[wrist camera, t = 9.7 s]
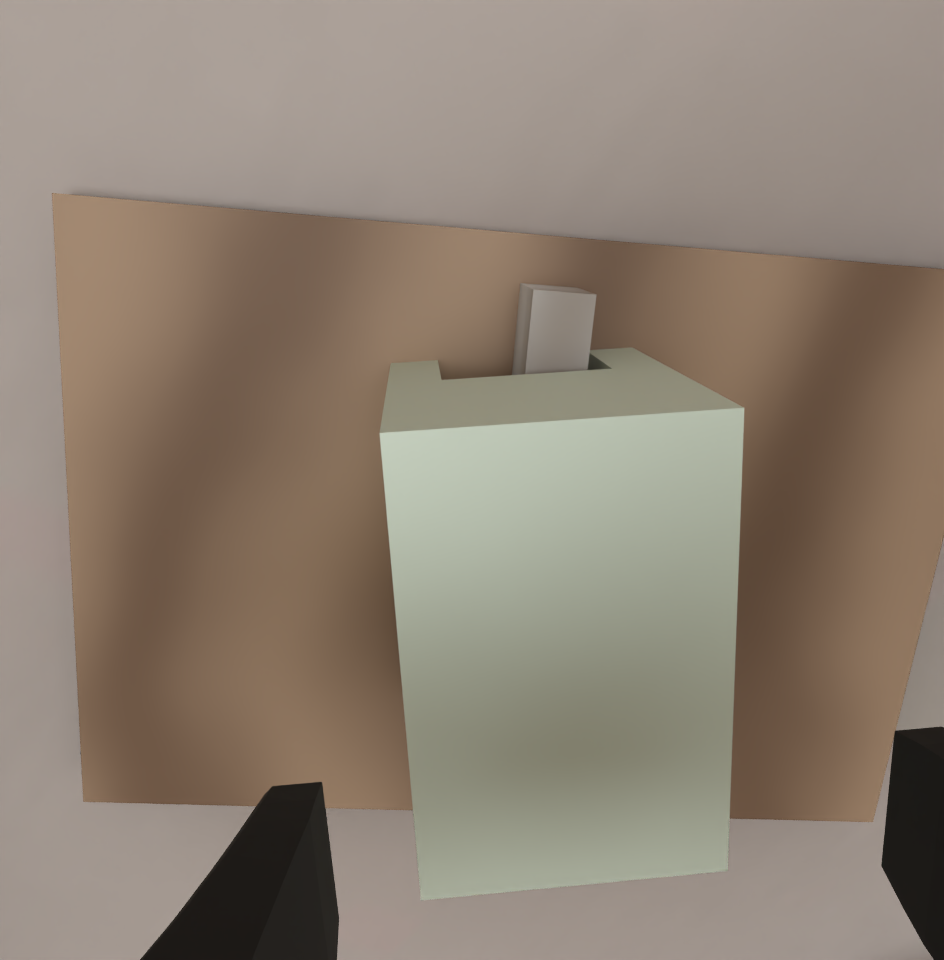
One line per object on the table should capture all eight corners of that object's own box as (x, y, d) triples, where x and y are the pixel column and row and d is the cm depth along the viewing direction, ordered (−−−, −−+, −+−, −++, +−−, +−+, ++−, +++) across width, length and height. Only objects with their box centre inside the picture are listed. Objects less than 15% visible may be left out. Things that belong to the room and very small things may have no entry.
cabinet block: (632, 347, 18) (744, 407, 12) (632, 678, 21) (727, 870, 14) (390, 363, 18) (379, 432, 12) (418, 696, 20) (420, 900, 14)
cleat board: (979, 272, 19) (1077, 279, 17) (853, 797, 23) (915, 877, 20) (71, 194, 18) (5, 188, 15) (97, 776, 22) (49, 860, 19)
